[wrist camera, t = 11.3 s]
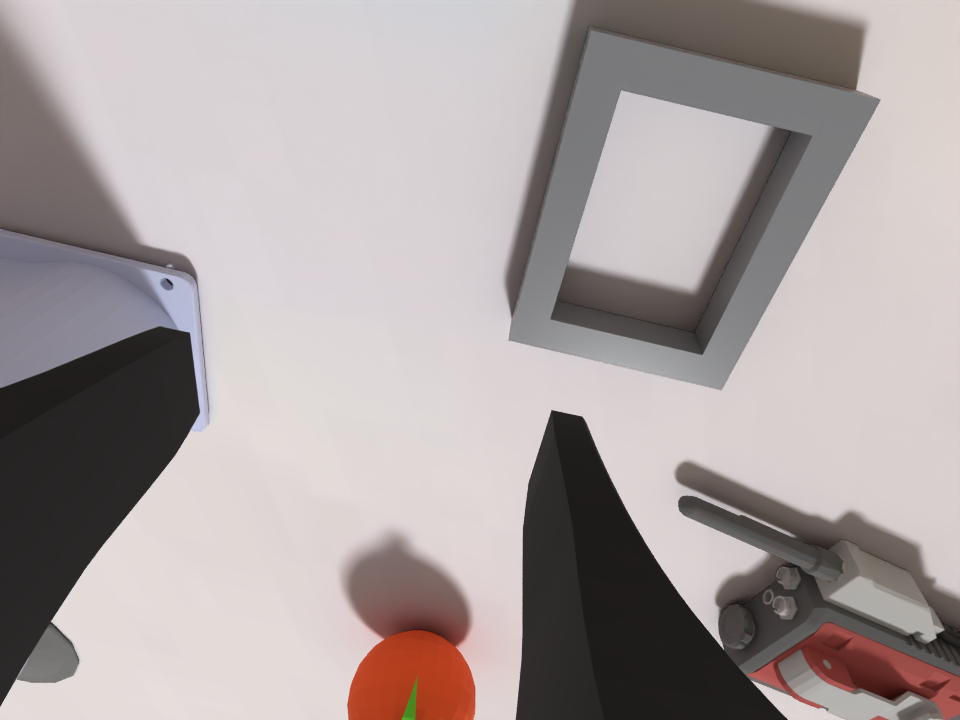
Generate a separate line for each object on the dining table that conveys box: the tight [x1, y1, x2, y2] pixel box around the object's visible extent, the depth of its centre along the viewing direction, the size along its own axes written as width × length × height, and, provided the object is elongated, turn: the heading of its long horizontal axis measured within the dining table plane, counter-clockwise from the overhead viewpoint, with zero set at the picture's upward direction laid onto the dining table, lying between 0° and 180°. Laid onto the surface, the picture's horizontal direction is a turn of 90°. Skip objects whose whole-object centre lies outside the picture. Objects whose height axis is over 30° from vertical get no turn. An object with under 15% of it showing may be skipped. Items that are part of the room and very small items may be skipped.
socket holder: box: [509, 26, 880, 390], centre depth 19 cm, size 8×10×2 cm
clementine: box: [347, 630, 475, 720], centre depth 31 cm, size 8×7×7 cm
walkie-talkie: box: [678, 496, 960, 720], centre depth 27 cm, size 9×4×20 cm
